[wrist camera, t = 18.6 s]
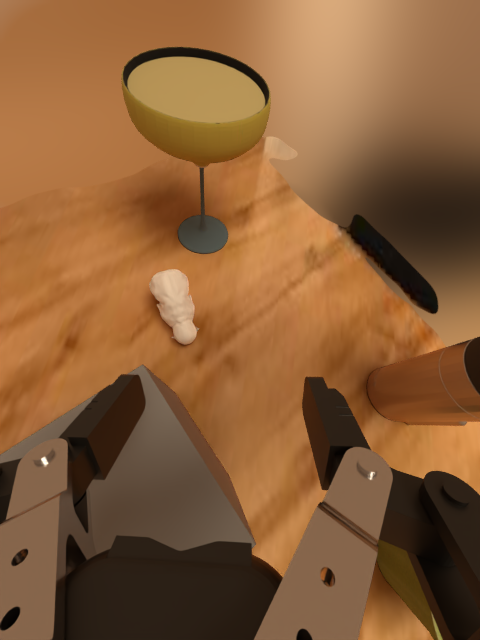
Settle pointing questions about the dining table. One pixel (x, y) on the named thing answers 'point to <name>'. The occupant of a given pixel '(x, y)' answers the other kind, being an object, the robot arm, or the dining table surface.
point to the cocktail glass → (197, 117)
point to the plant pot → (406, 583)
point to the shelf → (158, 478)
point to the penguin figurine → (175, 303)
